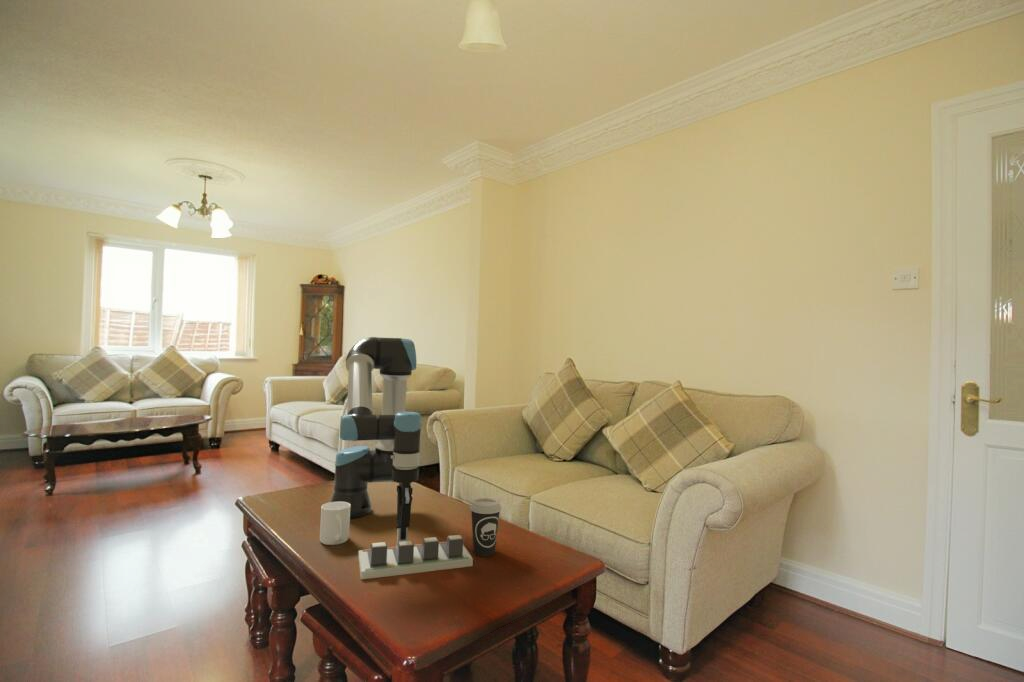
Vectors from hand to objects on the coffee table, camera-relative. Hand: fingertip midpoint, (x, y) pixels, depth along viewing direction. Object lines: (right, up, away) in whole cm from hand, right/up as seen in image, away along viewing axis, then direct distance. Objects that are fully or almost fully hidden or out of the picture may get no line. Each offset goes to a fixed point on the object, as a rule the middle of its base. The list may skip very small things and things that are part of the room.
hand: (401, 549), depth 136 cm
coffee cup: (+23, -4, +8) cm, 25 cm away
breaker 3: (+9, -1, -3) cm, 9 cm away
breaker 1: (-4, 0, -8) cm, 9 cm away
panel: (+4, -3, -1) cm, 5 cm away
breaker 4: (+15, -1, -1) cm, 15 cm away
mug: (-23, -3, +11) cm, 25 cm away
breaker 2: (+2, 0, -6) cm, 7 cm away
